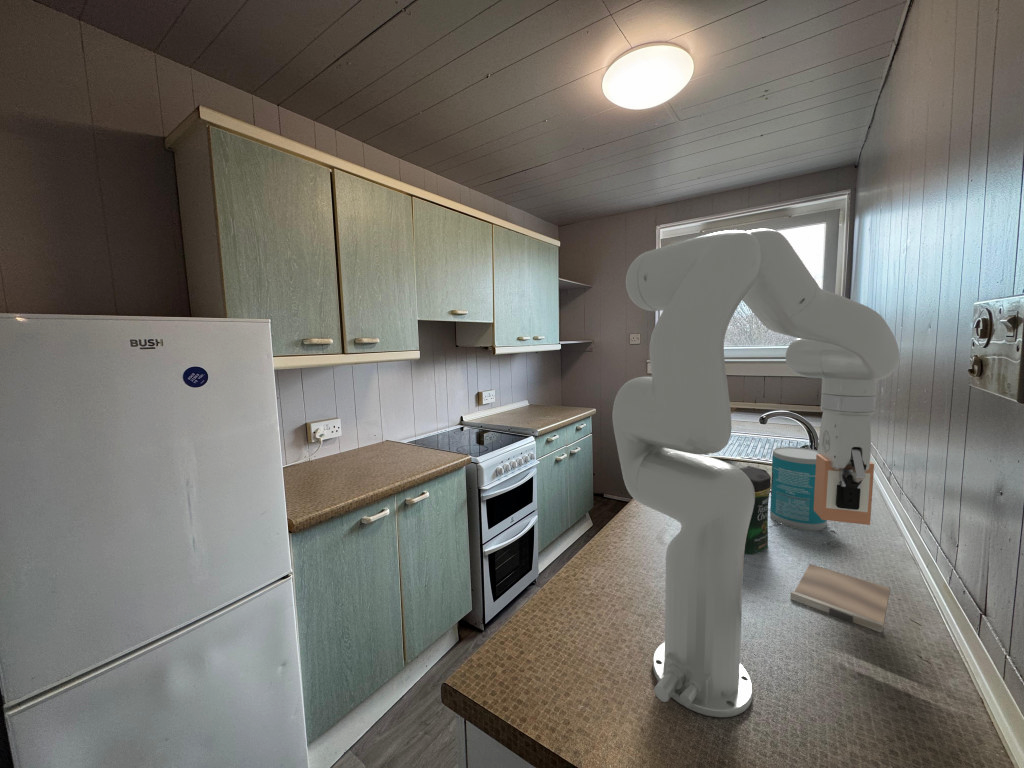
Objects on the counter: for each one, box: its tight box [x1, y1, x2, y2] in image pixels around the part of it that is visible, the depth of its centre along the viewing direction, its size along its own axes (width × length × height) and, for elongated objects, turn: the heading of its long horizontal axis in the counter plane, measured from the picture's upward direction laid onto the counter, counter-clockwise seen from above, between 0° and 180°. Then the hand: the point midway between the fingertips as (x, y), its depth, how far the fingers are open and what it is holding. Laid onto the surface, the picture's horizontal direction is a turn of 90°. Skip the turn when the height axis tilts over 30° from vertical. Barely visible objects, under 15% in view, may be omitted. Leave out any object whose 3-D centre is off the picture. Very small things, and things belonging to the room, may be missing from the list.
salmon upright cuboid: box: [814, 454, 875, 526], centre depth 74 cm, size 5×7×11 cm, turn 69°
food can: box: [769, 446, 828, 531], centre depth 104 cm, size 12×12×18 cm
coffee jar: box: [739, 465, 772, 555], centre depth 90 cm, size 10×8×19 cm
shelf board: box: [790, 563, 891, 634], centre depth 73 cm, size 16×12×2 cm
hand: (841, 501), depth 74 cm, fingers closed on salmon upright cuboid, 4 cm apart
